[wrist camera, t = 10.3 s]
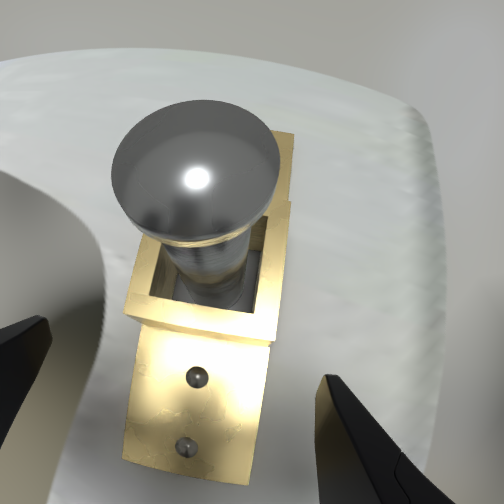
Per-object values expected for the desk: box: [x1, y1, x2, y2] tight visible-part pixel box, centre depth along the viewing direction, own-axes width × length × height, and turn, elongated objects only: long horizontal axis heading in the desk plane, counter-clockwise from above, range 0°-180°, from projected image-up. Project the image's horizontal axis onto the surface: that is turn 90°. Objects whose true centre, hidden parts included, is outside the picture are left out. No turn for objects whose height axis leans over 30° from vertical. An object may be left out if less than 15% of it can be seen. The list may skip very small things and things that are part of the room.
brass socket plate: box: [122, 130, 294, 485], centre depth 16 cm, size 23×7×4 cm, turn 172°
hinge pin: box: [111, 100, 280, 309], centre depth 13 cm, size 4×4×12 cm
